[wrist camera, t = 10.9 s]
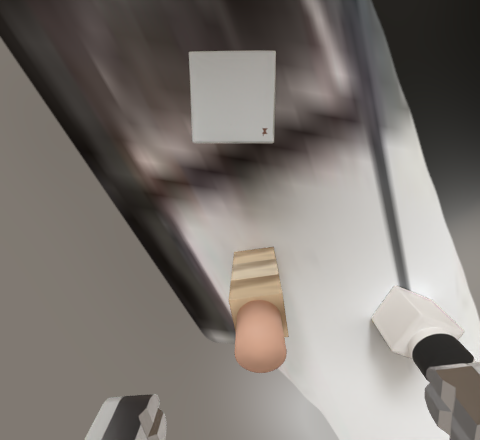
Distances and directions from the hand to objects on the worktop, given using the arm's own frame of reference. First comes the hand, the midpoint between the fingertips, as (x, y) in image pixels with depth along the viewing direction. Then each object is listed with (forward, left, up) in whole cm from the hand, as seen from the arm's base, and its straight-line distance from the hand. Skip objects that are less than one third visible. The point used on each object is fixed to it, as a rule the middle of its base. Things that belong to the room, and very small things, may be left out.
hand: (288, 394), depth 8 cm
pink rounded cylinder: (+13, -2, -19) cm, 23 cm away
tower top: (+13, -2, -23) cm, 27 cm away
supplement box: (-10, -1, -31) cm, 33 cm away
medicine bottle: (+24, +20, -31) cm, 44 cm away
